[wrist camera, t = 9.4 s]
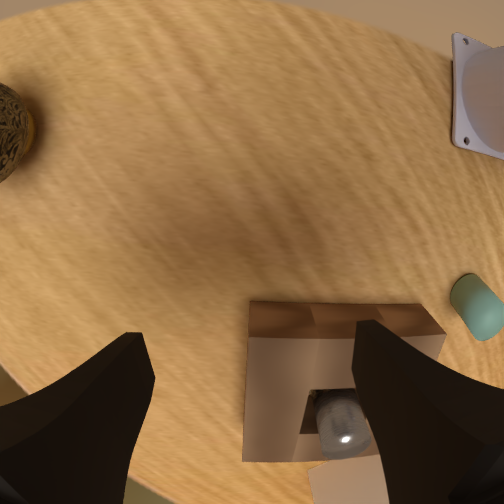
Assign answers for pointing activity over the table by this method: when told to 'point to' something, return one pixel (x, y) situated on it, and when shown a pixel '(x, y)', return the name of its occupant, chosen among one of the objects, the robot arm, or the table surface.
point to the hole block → (311, 369)
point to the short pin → (478, 307)
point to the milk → (349, 481)
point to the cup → (14, 130)
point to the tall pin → (340, 423)
